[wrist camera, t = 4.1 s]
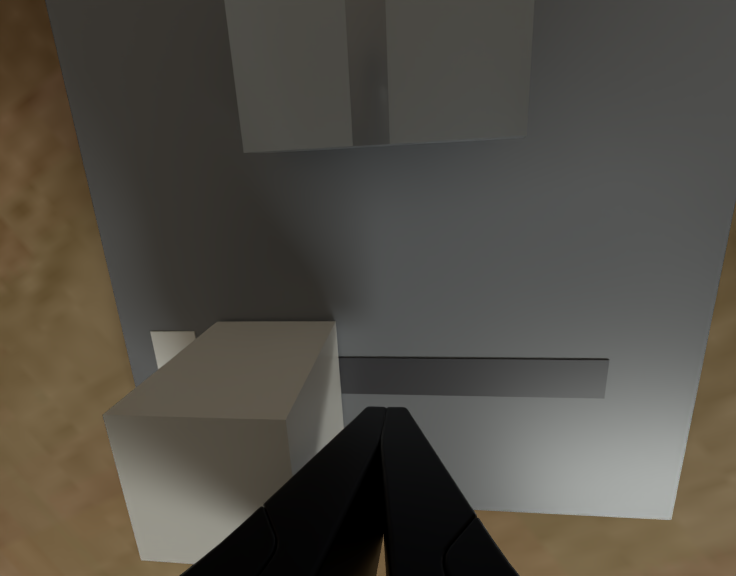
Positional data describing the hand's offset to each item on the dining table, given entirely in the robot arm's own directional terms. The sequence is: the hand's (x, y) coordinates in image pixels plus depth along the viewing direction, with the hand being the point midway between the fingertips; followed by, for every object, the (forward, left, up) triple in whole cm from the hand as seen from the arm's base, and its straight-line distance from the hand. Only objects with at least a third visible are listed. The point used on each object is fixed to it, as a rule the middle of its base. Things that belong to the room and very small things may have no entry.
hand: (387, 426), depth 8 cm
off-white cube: (+3, 0, -2) cm, 3 cm away
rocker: (0, -7, -1) cm, 7 cm away
